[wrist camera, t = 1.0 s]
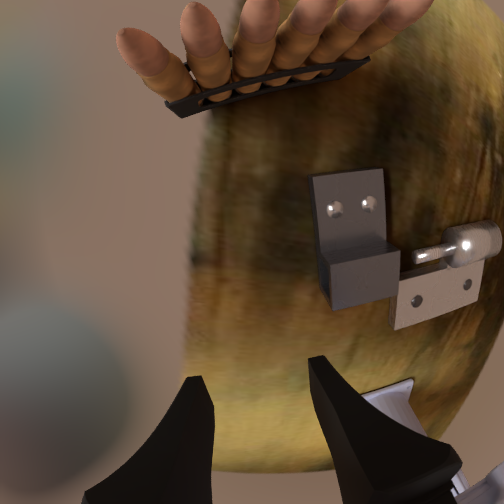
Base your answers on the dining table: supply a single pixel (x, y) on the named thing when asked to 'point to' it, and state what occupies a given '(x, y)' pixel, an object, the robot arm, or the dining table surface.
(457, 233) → the fixed leaf
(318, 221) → the loose leaf
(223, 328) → the dining table surface
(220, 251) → the dining table surface
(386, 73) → the dining table surface
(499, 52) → the dining table surface
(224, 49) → the ammunition clip
